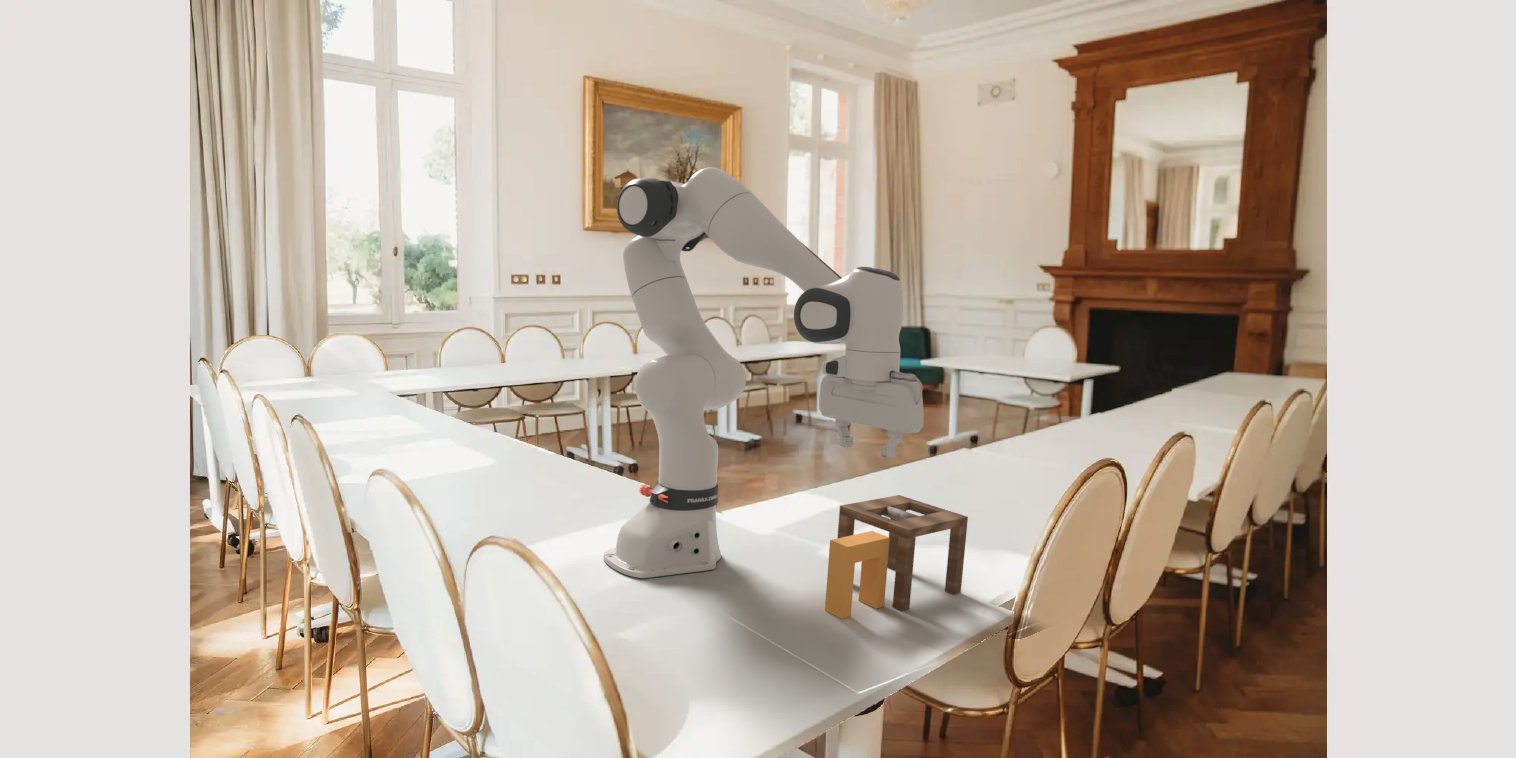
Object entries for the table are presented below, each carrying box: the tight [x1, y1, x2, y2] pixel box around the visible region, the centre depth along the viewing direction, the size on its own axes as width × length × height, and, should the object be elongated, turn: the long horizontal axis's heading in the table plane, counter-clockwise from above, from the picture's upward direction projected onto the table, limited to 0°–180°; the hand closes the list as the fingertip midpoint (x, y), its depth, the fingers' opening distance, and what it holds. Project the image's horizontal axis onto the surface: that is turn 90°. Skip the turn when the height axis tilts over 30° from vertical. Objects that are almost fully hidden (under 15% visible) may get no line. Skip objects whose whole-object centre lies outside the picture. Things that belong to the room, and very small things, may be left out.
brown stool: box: [837, 494, 969, 612], centre depth 147 cm, size 16×16×14 cm
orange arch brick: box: [824, 530, 890, 620], centre depth 136 cm, size 10×4×12 cm, turn 129°
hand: (866, 451), depth 135 cm, fingers open, 8 cm apart
